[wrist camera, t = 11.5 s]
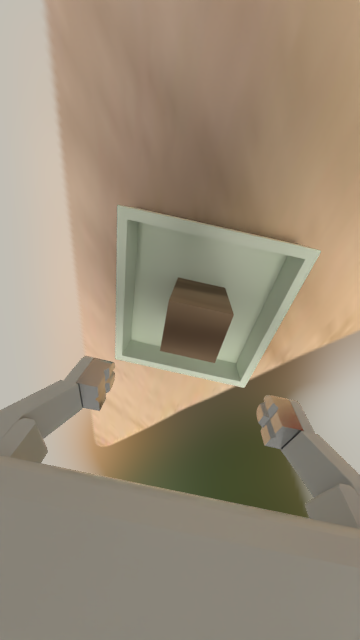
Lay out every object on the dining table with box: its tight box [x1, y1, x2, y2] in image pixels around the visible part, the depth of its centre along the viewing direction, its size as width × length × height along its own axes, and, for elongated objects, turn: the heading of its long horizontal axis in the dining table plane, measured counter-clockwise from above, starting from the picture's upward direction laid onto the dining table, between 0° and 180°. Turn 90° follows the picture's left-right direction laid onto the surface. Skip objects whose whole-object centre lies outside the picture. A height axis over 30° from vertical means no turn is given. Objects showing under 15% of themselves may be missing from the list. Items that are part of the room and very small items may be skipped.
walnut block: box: [160, 277, 234, 363], centre depth 17 cm, size 5×5×6 cm
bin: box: [115, 205, 321, 388], centre depth 19 cm, size 16×16×4 cm
